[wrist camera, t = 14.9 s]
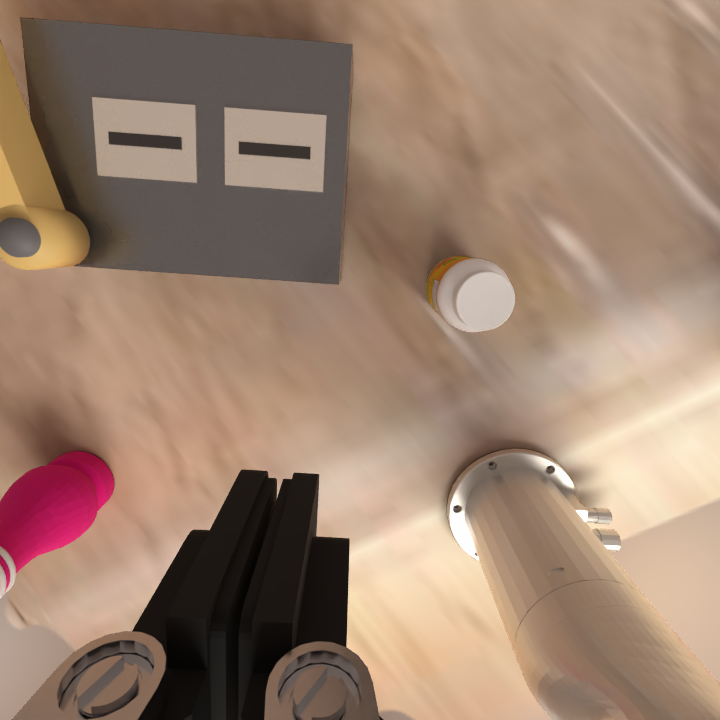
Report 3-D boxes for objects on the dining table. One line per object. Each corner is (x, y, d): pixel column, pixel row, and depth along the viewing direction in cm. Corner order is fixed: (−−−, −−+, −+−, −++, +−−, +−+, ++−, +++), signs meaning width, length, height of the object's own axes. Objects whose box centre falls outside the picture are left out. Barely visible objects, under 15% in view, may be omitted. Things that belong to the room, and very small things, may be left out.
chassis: (353, 71, 35) (352, 41, 30) (341, 279, 39) (338, 284, 34) (67, 48, 35) (16, 14, 29) (85, 261, 39) (42, 264, 33)
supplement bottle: (486, 253, 39) (527, 256, 29) (486, 315, 40) (526, 337, 31) (423, 258, 39) (444, 263, 29) (425, 320, 40) (446, 343, 31)
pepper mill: (69, 521, 45) (-149, 731, 26) (30, 460, 43) (-233, 635, 24) (133, 498, 44) (-41, 696, 25) (97, 435, 43) (-120, 595, 23)
